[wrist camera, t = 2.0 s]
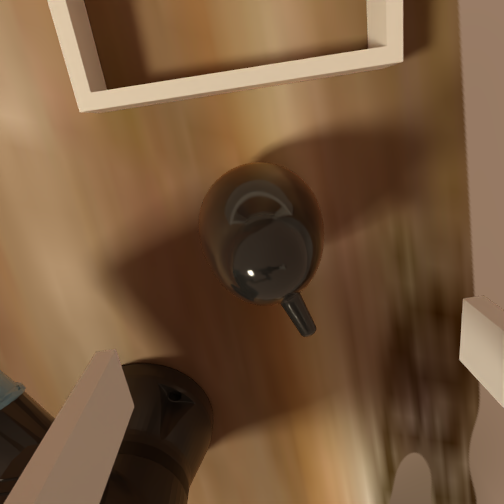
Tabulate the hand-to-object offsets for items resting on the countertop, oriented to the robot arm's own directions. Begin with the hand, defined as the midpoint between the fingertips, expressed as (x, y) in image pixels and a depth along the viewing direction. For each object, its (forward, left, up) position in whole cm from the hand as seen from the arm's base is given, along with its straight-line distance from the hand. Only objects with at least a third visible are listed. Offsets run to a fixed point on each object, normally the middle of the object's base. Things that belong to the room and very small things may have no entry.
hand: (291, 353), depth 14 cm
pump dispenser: (0, 0, -22) cm, 22 cm away
